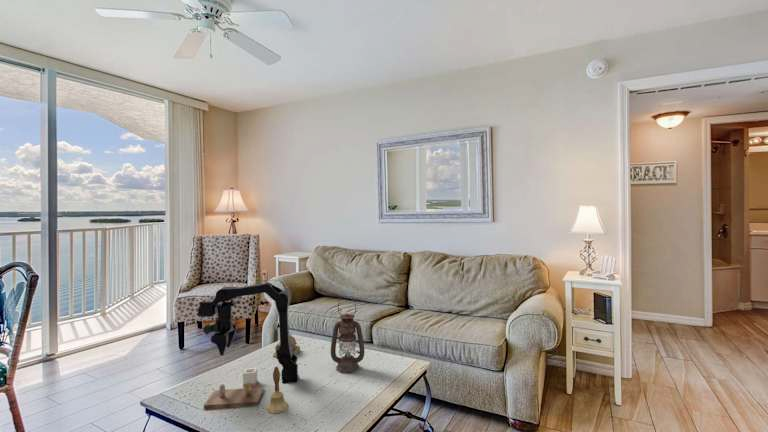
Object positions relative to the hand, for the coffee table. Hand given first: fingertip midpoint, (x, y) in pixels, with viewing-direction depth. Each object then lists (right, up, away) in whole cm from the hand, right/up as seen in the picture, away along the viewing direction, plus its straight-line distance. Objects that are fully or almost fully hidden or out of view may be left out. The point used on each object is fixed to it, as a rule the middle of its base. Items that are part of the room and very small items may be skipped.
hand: (225, 351), depth 163 cm
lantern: (+53, -14, +15) cm, 57 cm away
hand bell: (+29, -15, -20) cm, 38 cm away
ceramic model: (+18, -14, +35) cm, 42 cm away
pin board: (+10, -15, -14) cm, 22 cm away
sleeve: (+11, -14, 0) cm, 18 cm away
